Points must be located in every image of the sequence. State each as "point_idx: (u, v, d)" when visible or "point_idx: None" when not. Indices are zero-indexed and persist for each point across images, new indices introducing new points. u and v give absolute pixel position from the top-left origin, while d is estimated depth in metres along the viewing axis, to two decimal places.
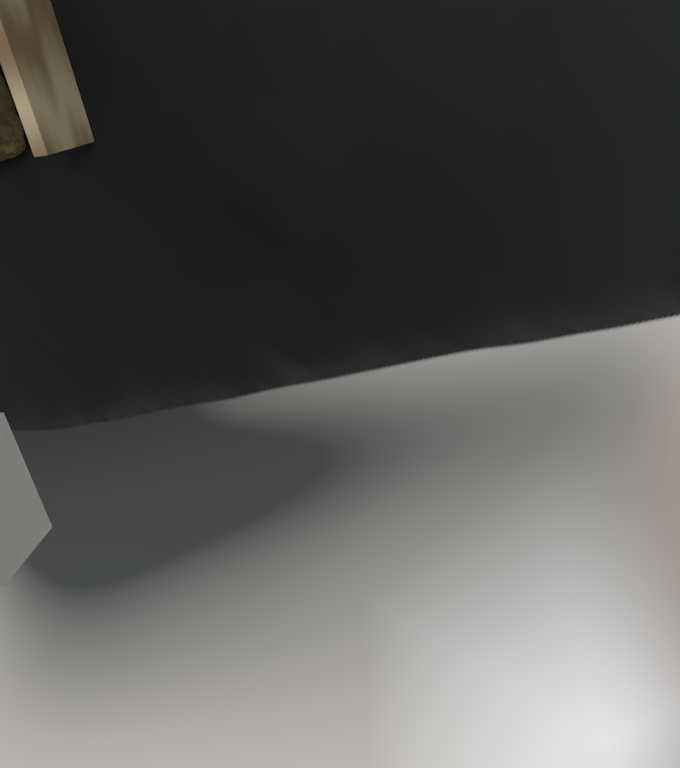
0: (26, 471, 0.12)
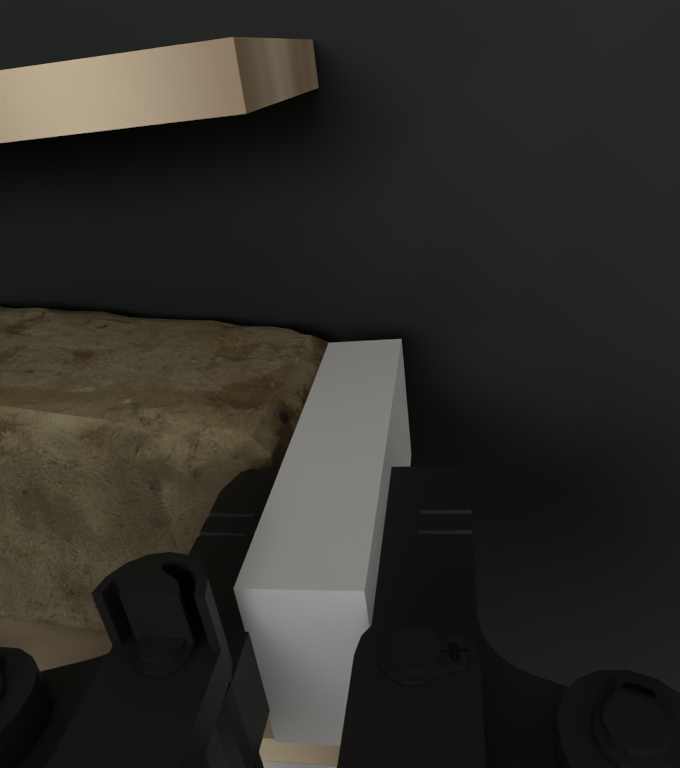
0: None
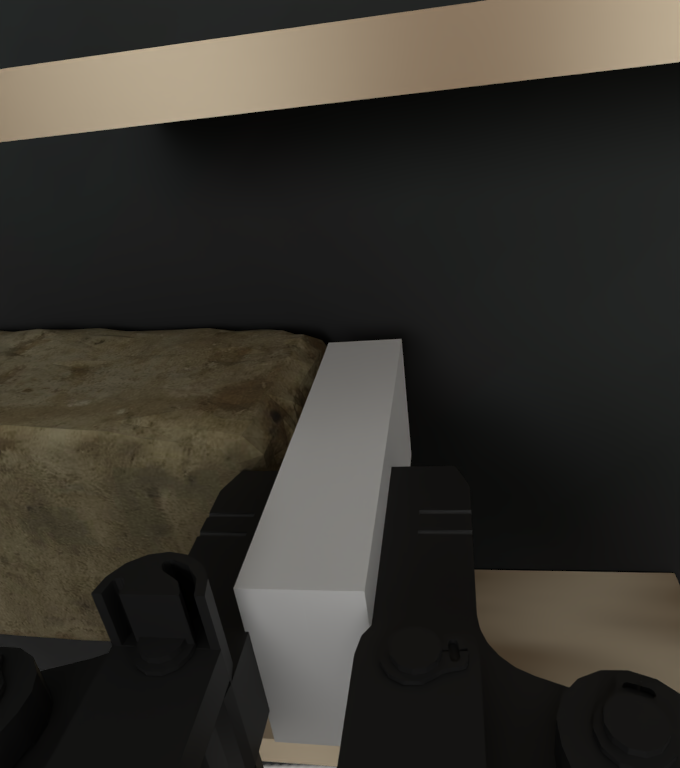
0: None
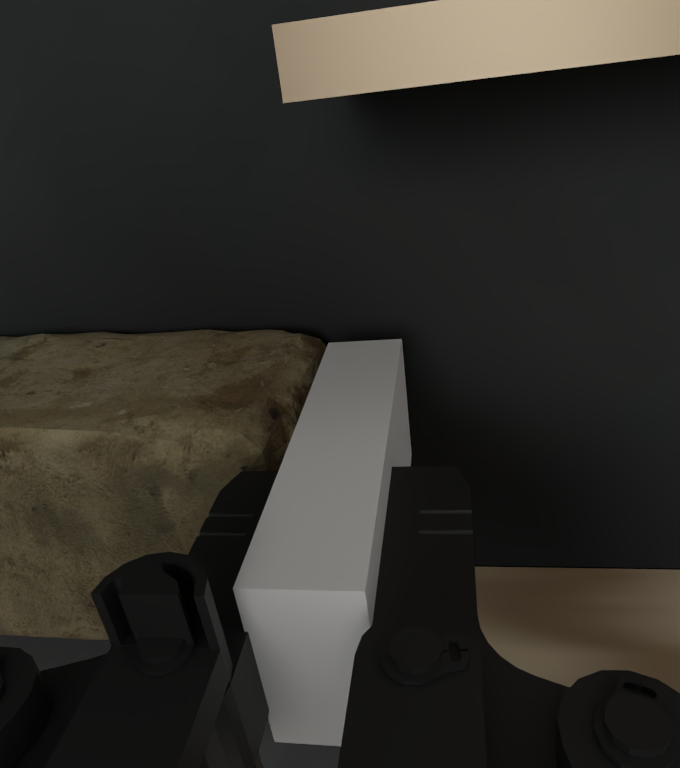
0: None
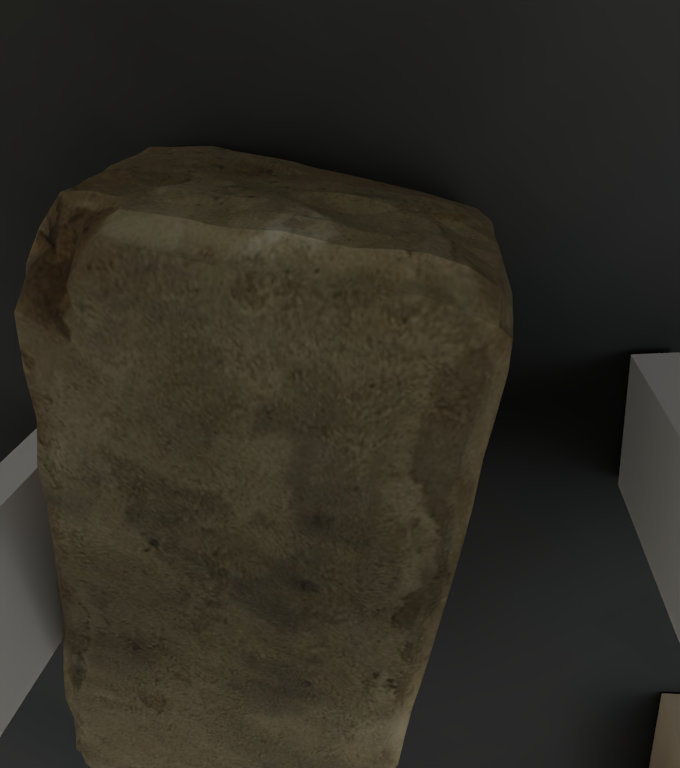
0: None
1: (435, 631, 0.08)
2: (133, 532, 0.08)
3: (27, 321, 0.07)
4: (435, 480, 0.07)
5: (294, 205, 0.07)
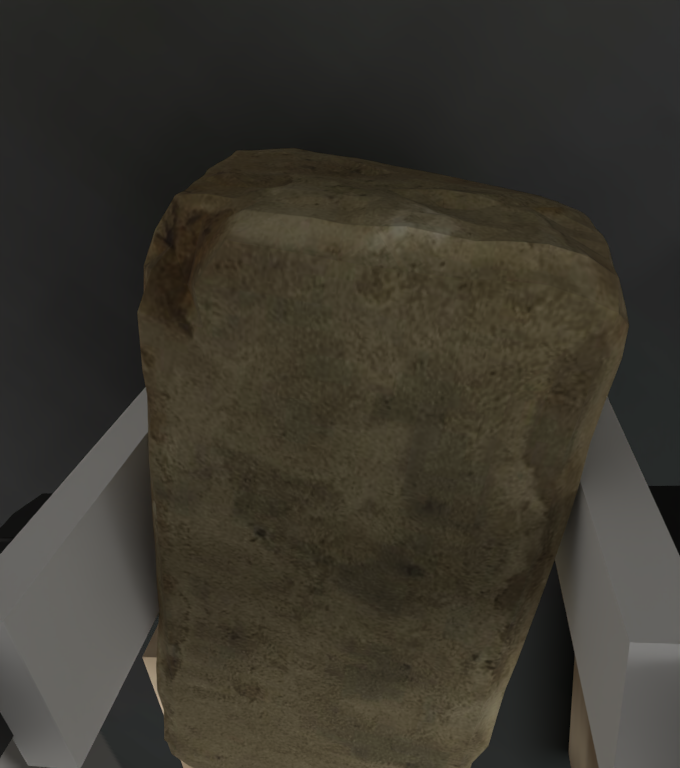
0: None
1: (533, 612, 0.09)
2: (240, 522, 0.08)
3: (150, 320, 0.07)
4: (545, 463, 0.07)
5: (407, 202, 0.07)
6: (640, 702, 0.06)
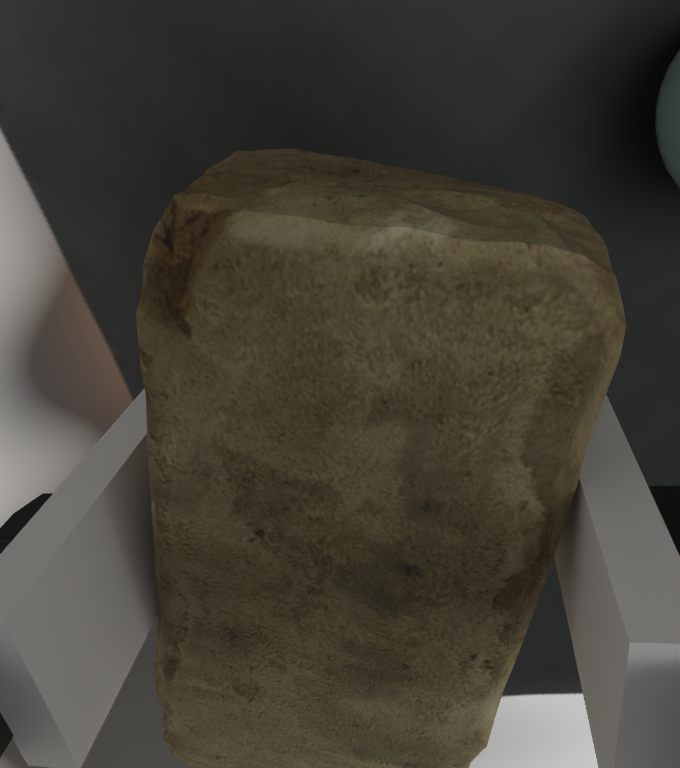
0: None
1: (532, 612, 0.09)
2: (239, 522, 0.08)
3: (148, 320, 0.07)
4: (545, 463, 0.07)
5: (405, 202, 0.07)
6: (640, 702, 0.06)
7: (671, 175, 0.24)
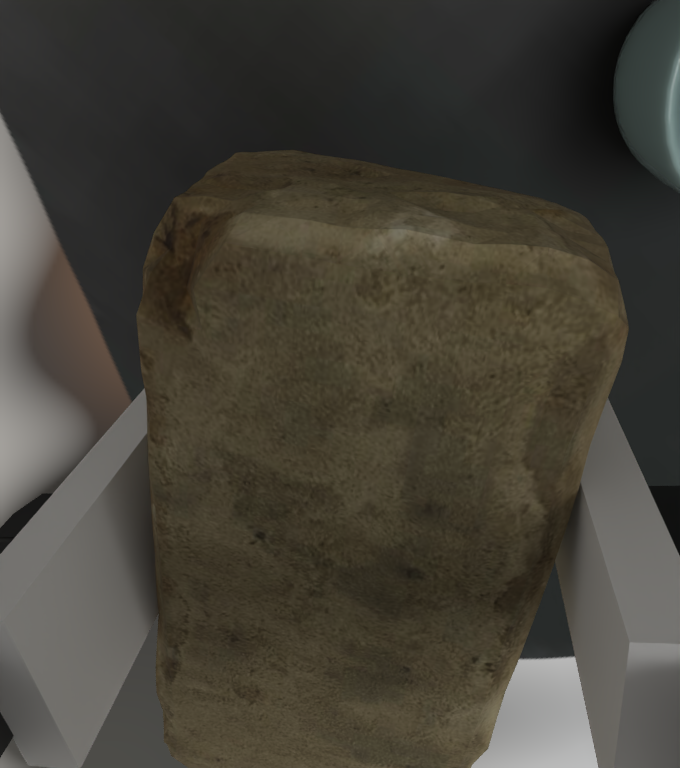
0: None
1: (533, 615, 0.09)
2: (239, 525, 0.08)
3: (149, 323, 0.07)
4: (546, 467, 0.07)
5: (407, 205, 0.07)
6: (640, 702, 0.06)
7: (625, 142, 0.25)
